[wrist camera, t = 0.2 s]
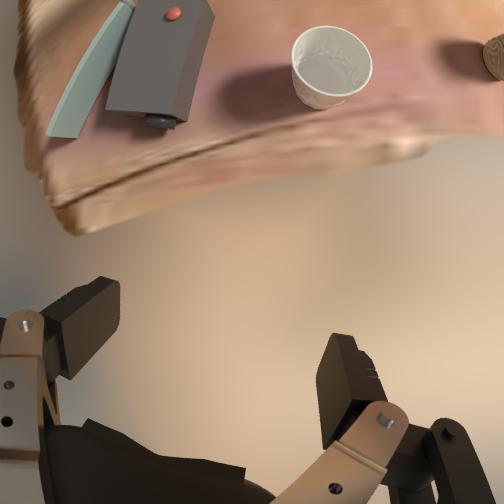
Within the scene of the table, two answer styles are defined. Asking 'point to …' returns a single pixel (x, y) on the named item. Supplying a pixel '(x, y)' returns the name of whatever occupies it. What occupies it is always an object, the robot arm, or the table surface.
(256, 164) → the table surface
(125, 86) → the camera housing
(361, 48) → the white cup
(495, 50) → the carving
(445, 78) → the table surface
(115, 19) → the side door
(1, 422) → the robot arm
